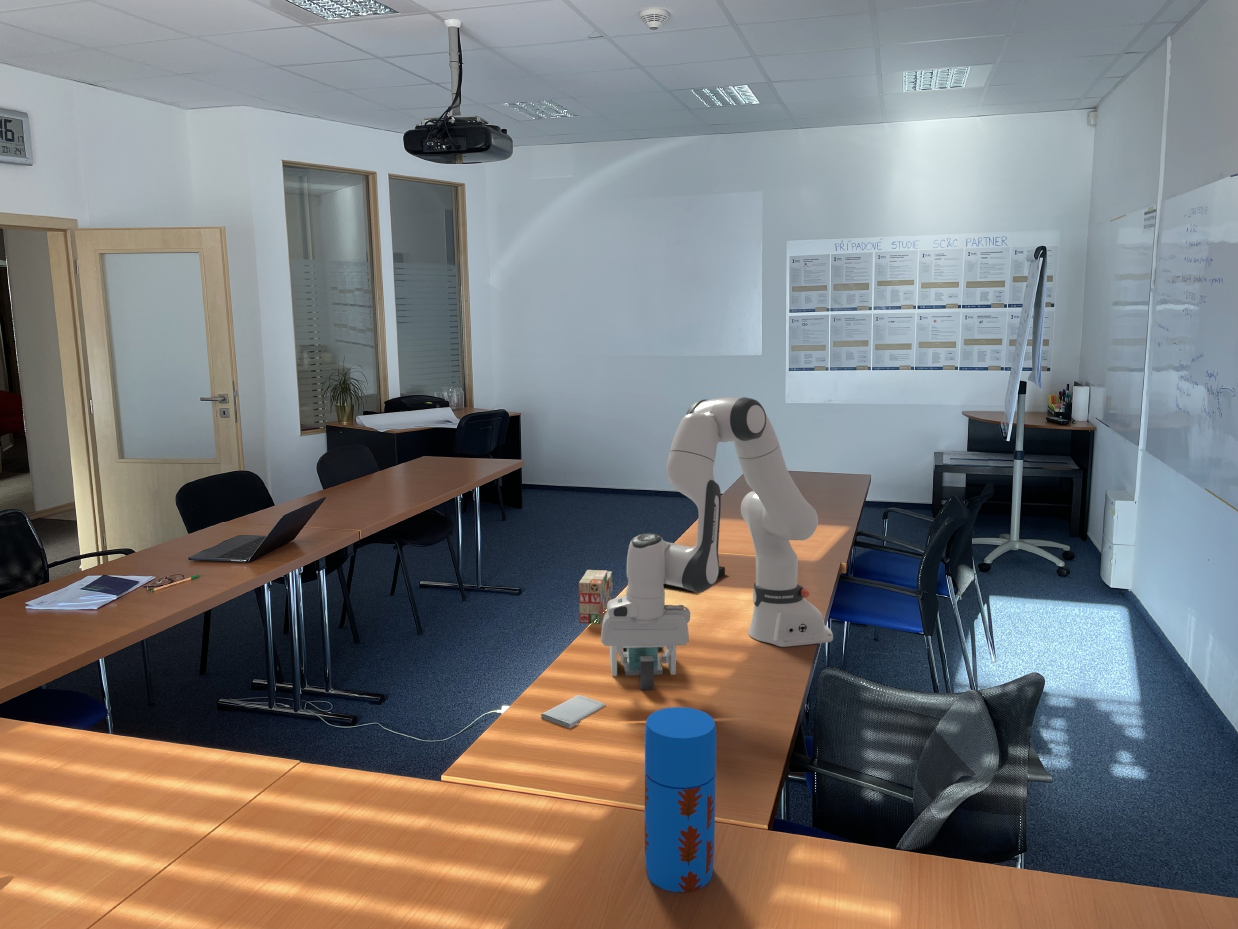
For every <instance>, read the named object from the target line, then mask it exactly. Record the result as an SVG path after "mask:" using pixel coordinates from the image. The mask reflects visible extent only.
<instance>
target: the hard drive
mask: <svg viewBox="0 0 1238 929" xmlns="http://www.w3.org/2000/svg"><path fill="white" fill-rule="evenodd" d="M604 707H606V703H604V702H602V701H599V700H597V699H594V698H589V697H587V696H584V695H581V694H577V695H575V696H573V697H572V698H570V699H568V700H566V701H564V702H561V703H560V704H557V705H556V706H554V707H552V708H550V709H549V710H546V711H545V712H542V713H540V715H541V716H540V718H541V719H543V720H546V721H548V722H551V723H553V724H556V725H560V726H561V727H565V728H568V729H572V728H573V727H575V726H577V725H578V724H580V723H581V721H582V720H583V719H585V718H587V717H589V716H590V715H592V714H594V713H595V712H598V711H599V710H601V709H602V708H604Z"/></svg>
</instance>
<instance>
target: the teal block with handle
mask: <svg viewBox="0 0 1238 929" xmlns="http://www.w3.org/2000/svg"><path fill="white" fill-rule="evenodd" d="M622 652H623V651H622ZM623 654H627V657H628V660H627V664H623V669H624V675H625V676H626V677H627V676H639V689H640V691H654V690H655V687H654V684H655V683H654V681H655V680H654V679H655V677H654V676H658V675H659V676H661V675H663V672H664V670H663V667H662V662H661V658H660V655H659V651H658V647H644V648H627V652H623Z"/></svg>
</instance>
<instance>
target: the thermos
mask: <svg viewBox="0 0 1238 929" xmlns="http://www.w3.org/2000/svg"><path fill="white" fill-rule="evenodd" d="M716 765H717V729H716V723H715V721H714V717H712V716H711V715H710V714H708V713H707V712H705V711H702V710H700V709H696V708H691V707H687V706H686V707H679V706H673V707H665V708H662V709H659V710H655V711H654V712H653V713H651V714H649V716H648V717H647V719H646V721H645V728H644V856H645V857H644V858H645V859H644V860H645V862H644V863H645V871H646V876H647V878H648V880H649V881H650V882H651V883H652V884H653V885H655V886H657V887H658V888H660V889H662V890H665V891H669V892H672V893H688V892H695V891H697V890H700V889H702V888H704V887H706V885H707V884H708V883H709V882H711V879H712V876H713V873H714V872H713V871H714V858H715V838H716V836H715V832H716V831H715V830H716V826H715V824H716V823H715V822H716V778H717V776H716V774H717V773H716V771H717V766H716Z"/></svg>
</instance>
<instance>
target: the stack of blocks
mask: <svg viewBox="0 0 1238 929" xmlns="http://www.w3.org/2000/svg"><path fill="white" fill-rule="evenodd" d="M613 584H614V582H613V571H611V570H610V571H608V570H602V569H601V570H599V569H597V570H596V569H594V570H593V569H587V570H586V571H585V573H584V574H583V575H582V577H581V579H580V581H579V582H578V590H579V591H578V601H579V602H578V603H579V610H578V611H579V613H578V621H579V622H578V623H579V624H591V625H592V623H594V621H595V620H596V619H597V620H596V622H595V623H594V624H595V625H601V624H602V623H603V618H604V615H605V614H606V613H607V611H605V610H606V609H607V603H608V601H609V600H611V599H614V598H613V596H614V595H613V590H614V588H613V587H614V586H613ZM603 612H604V613H603ZM597 622H598V623H597ZM596 623H597V624H596ZM600 623H601V624H600ZM594 624H593V625H594Z"/></svg>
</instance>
